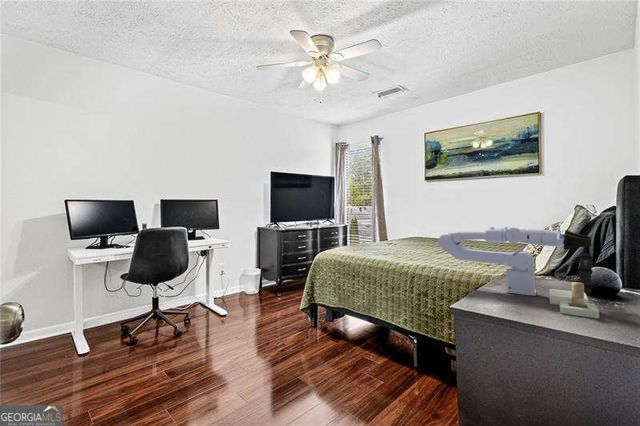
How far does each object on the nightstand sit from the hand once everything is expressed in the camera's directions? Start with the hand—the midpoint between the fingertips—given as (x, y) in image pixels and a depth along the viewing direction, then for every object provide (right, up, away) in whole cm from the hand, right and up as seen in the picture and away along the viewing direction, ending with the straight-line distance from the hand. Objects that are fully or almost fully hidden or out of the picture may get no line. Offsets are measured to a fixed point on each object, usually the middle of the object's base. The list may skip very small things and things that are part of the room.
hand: (590, 241), depth 107 cm
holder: (-13, -21, -10) cm, 26 cm away
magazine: (+11, -21, +14) cm, 27 cm away
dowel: (-13, -21, -10) cm, 26 cm away
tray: (-8, -21, 0) cm, 23 cm away
